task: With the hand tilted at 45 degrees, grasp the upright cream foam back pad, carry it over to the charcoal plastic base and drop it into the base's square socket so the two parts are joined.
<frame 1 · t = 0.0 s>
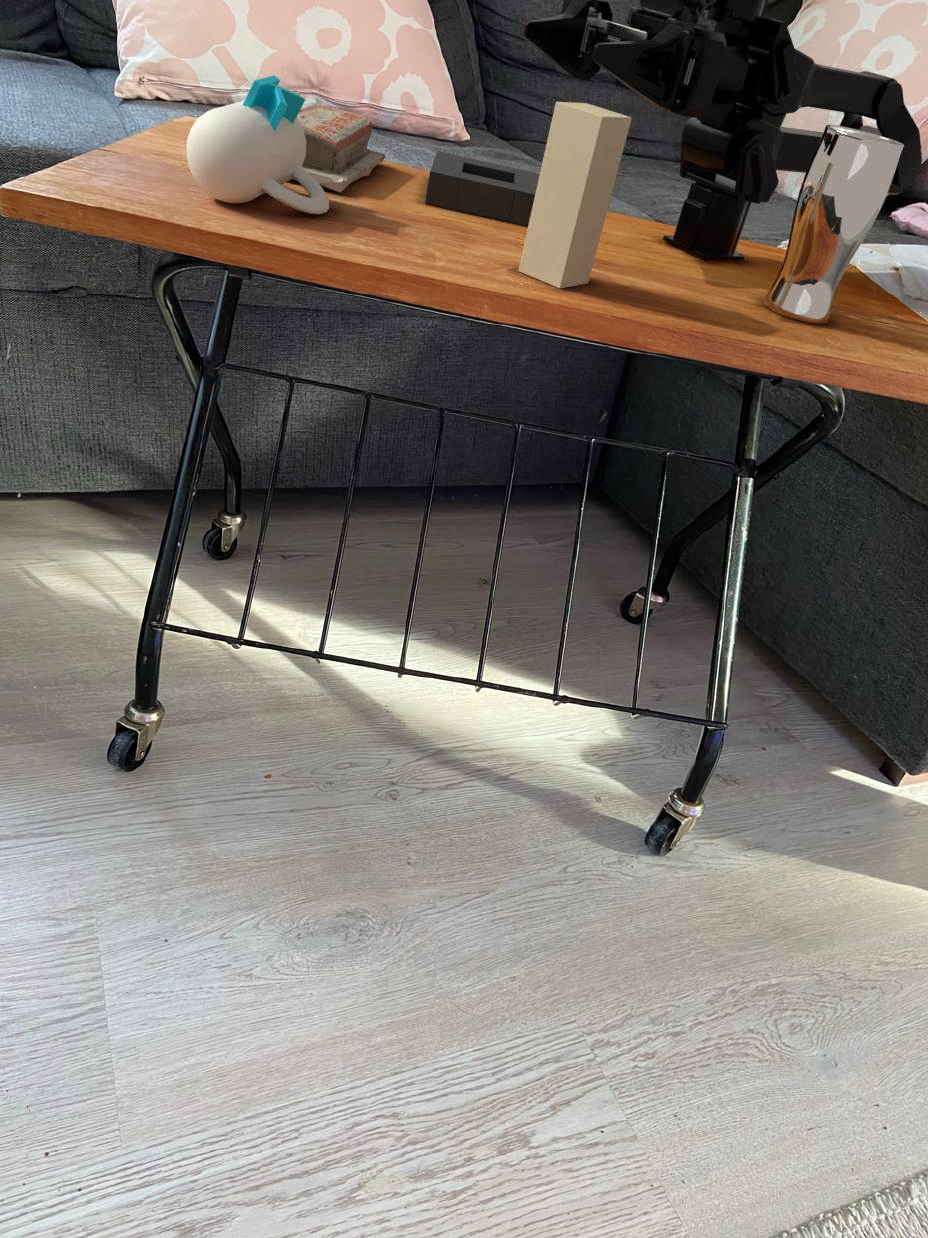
hand: (558, 39, 80), 17 cm above the table, tool horizontal, fingers open, 9 cm apart
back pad: (553, 277, 83), on the table
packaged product: (317, 169, 100), on the table
beer glass: (795, 313, 90), on the table
pad base: (482, 203, 101), on the table
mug: (262, 202, 85), on the table
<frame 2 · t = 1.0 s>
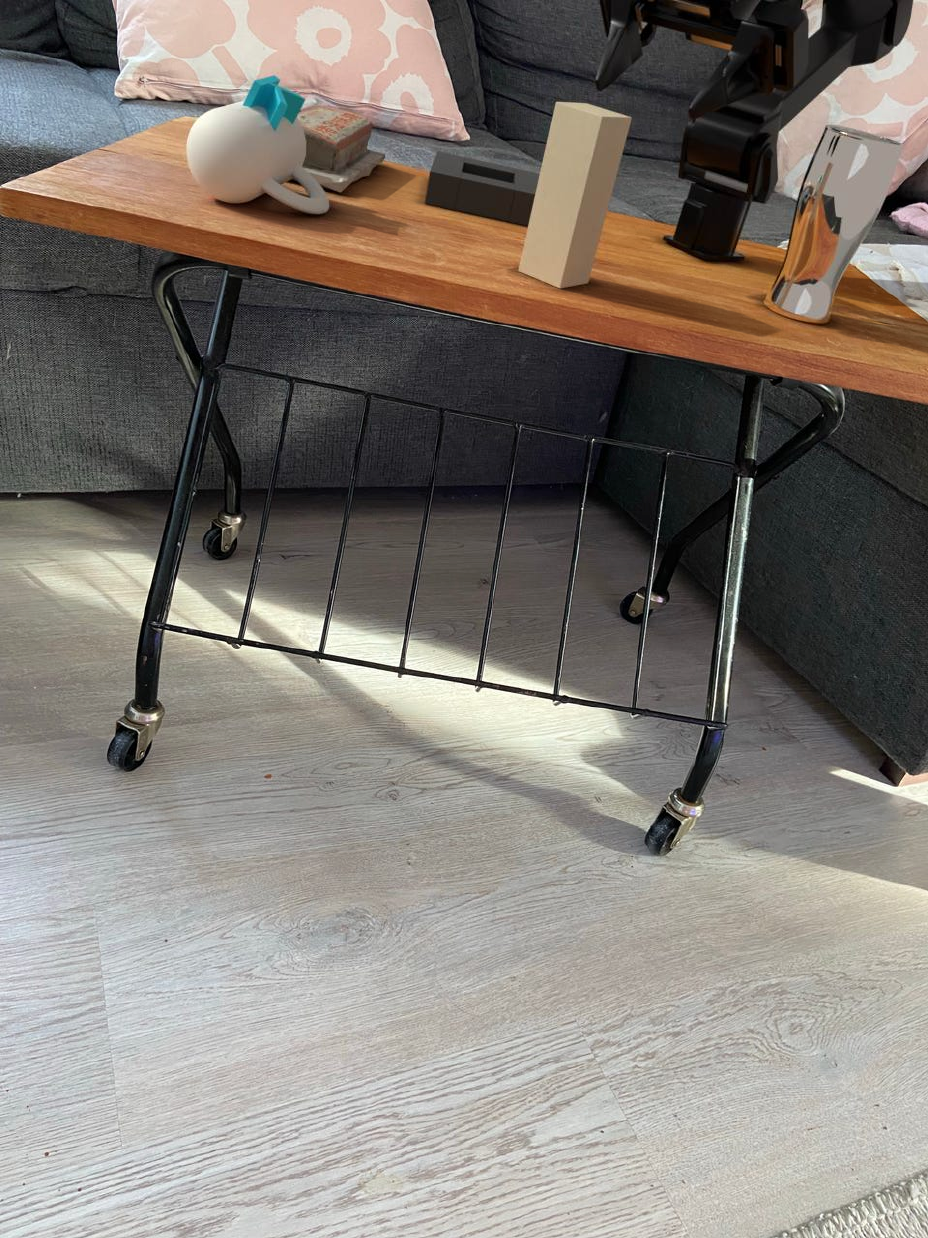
hand: (642, 100, 81), 14 cm above the table, tool tilted 45°, fingers open, 9 cm apart
nothing on the table moved.
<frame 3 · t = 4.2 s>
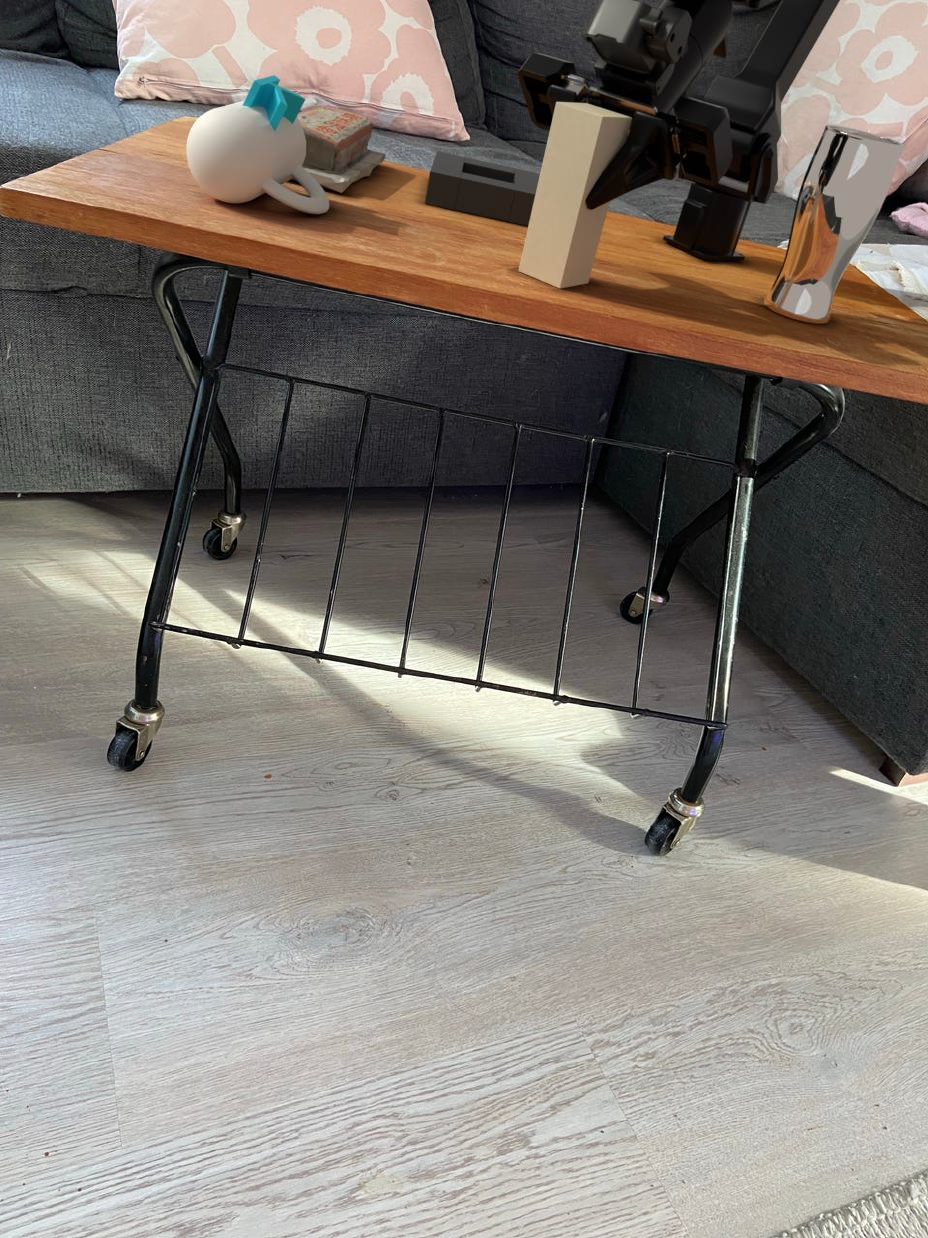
hand: (563, 196, 79), 7 cm above the table, tool tilted 45°, fingers closed on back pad, 4 cm apart
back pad: (553, 277, 83), on the table, touching gripper
everything else where it was.
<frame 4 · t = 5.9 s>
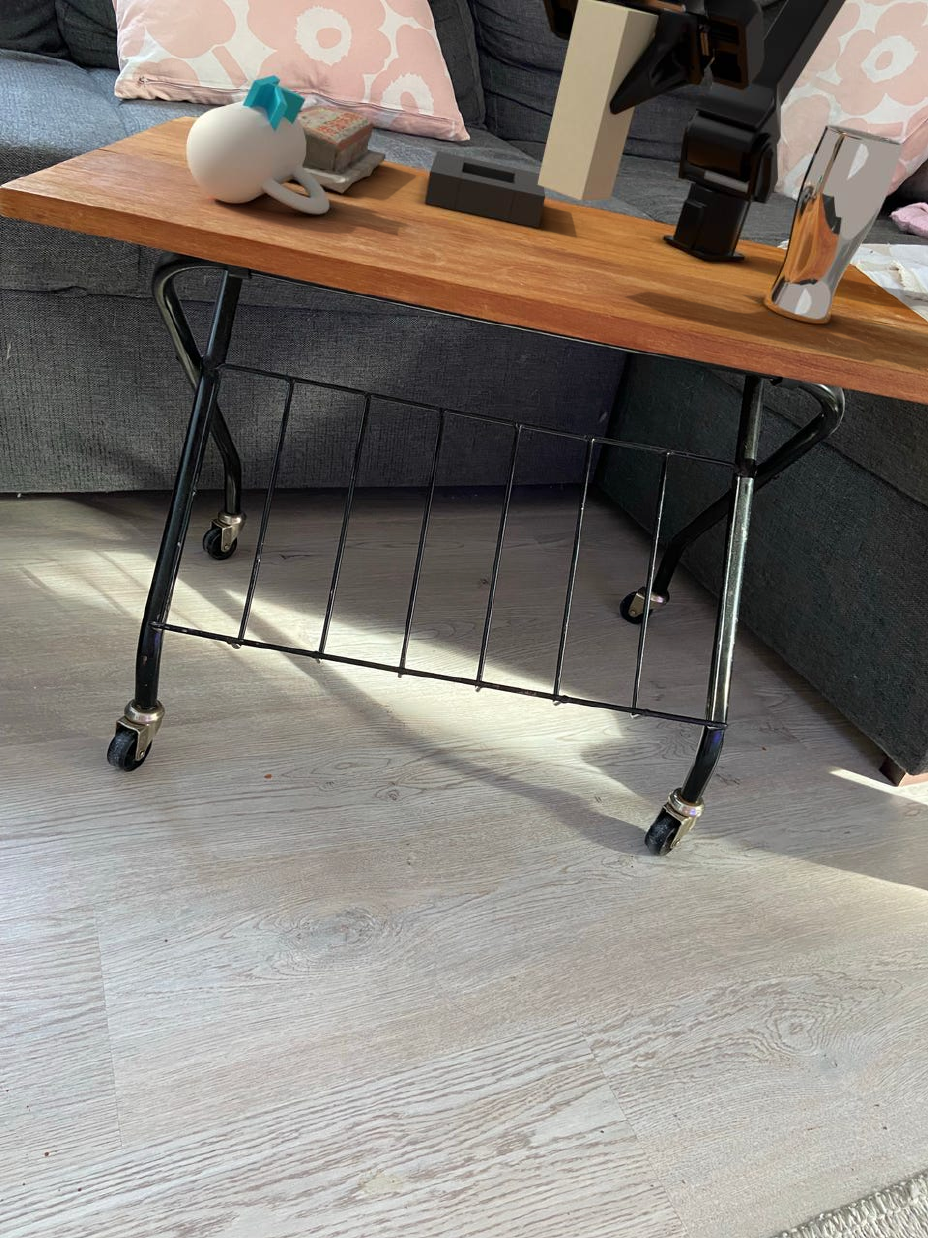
hand: (586, 101, 75), 14 cm above the table, tool tilted 45°, fingers closed on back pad, 4 cm apart
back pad: (574, 191, 80), point 7 cm above the table, touching gripper
everything else where it was.
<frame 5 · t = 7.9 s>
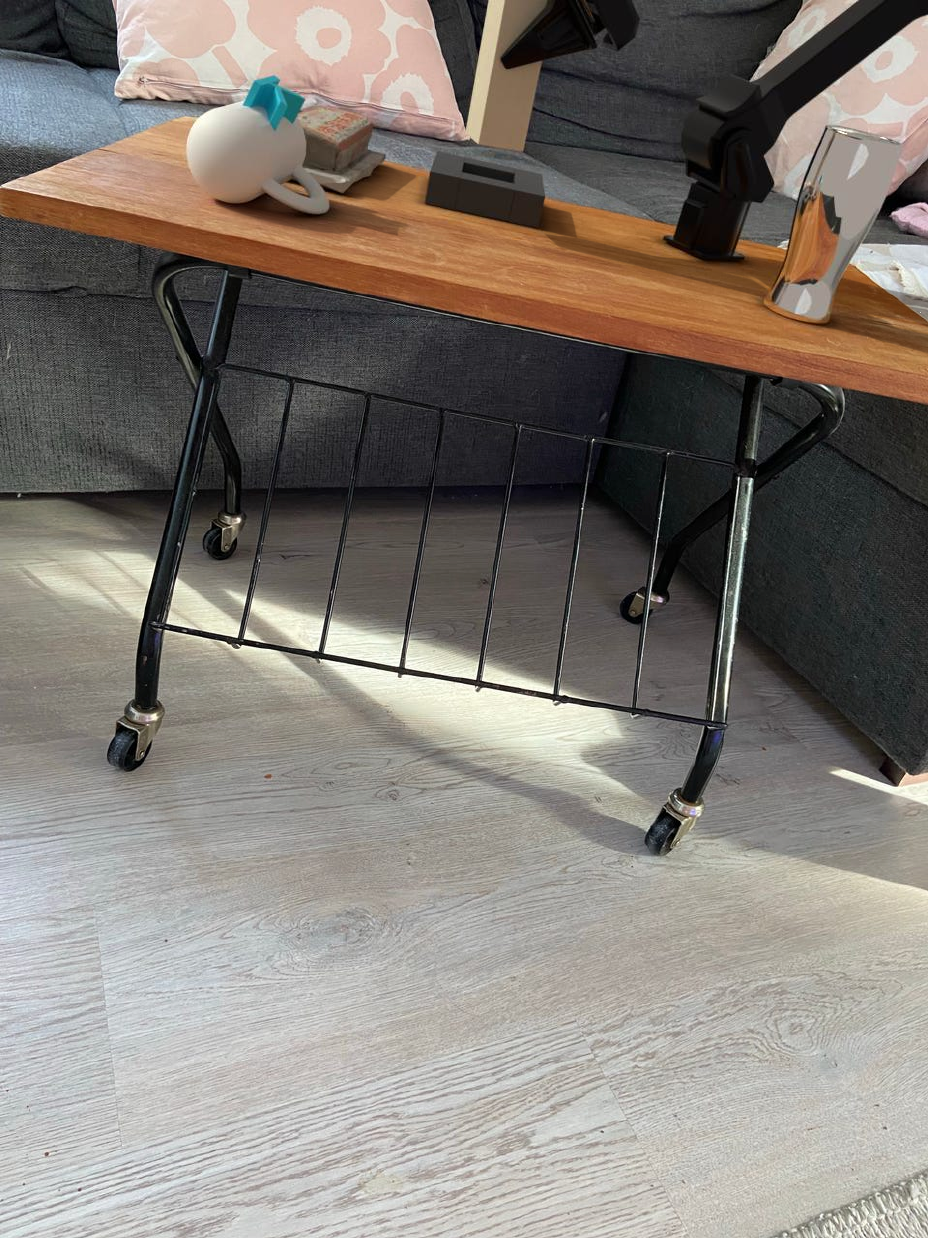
hand: (494, 59, 87), 14 cm above the table, tool tilted 45°, fingers closed on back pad, 4 cm apart
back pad: (493, 142, 91), point 7 cm above the table, touching gripper
everything else where it was.
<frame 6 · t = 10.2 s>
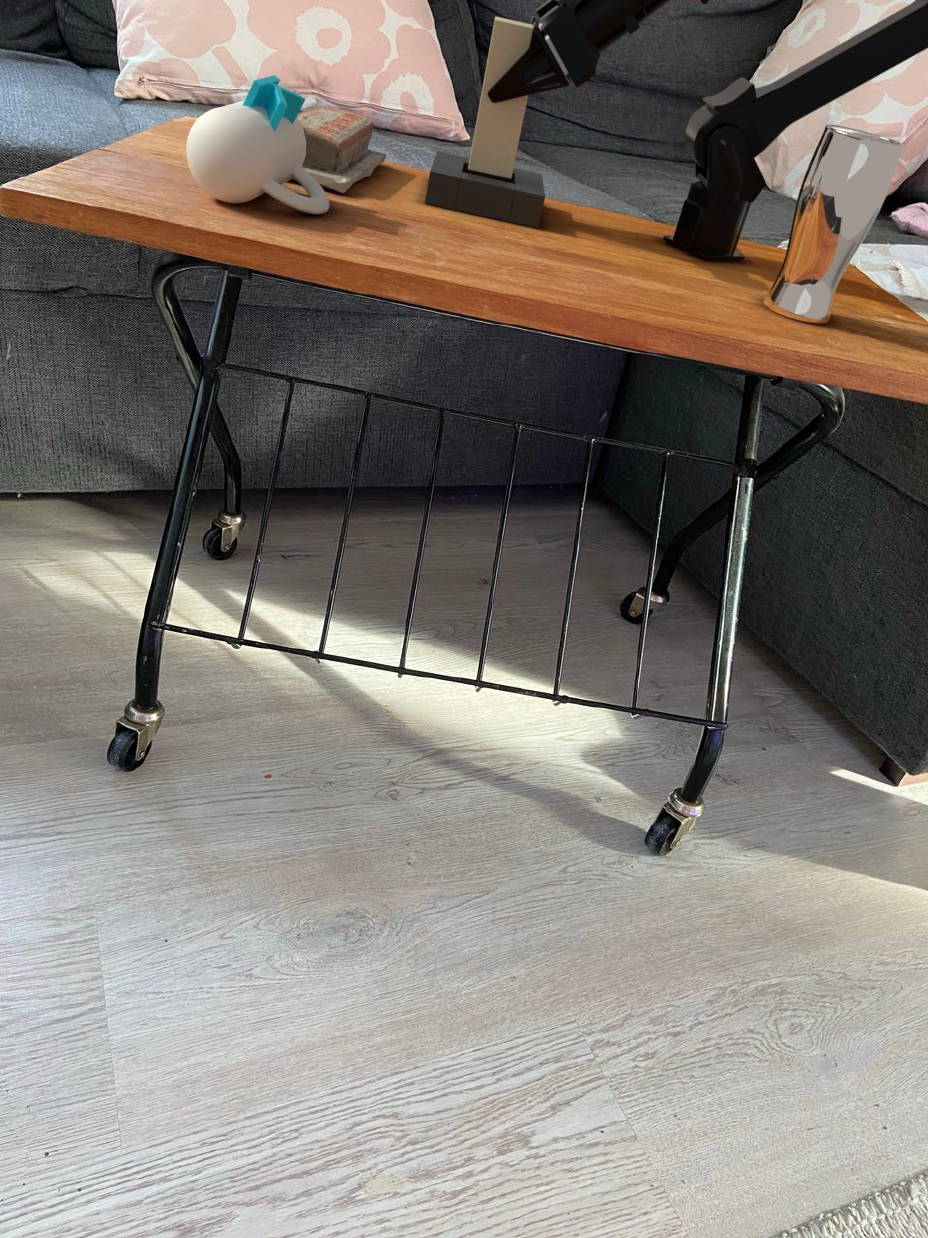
hand: (490, 94, 96), 10 cm above the table, tool tilted 45°, fingers closed on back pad, 4 cm apart
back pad: (489, 169, 100), point 3 cm above the table, touching gripper
everything else where it was.
when the fingers open (7 cm above the table, at t = 11.7 s): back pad stays where it is, resting in pad base.
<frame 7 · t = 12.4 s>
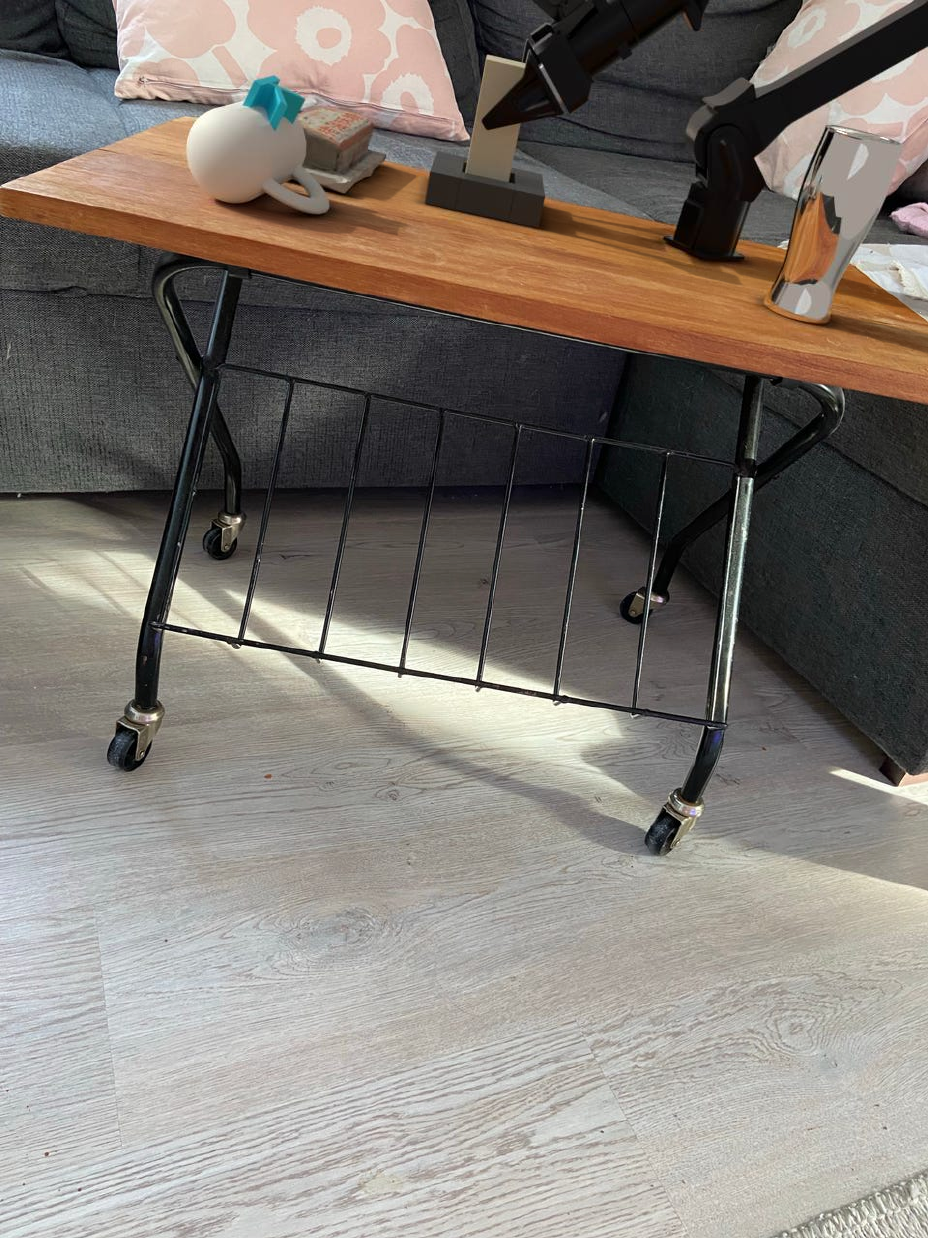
hand: (484, 118, 97), 8 cm above the table, tool tilted 45°, fingers open, 9 cm apart
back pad: (481, 203, 101), resting in pad base
everything else where it was.
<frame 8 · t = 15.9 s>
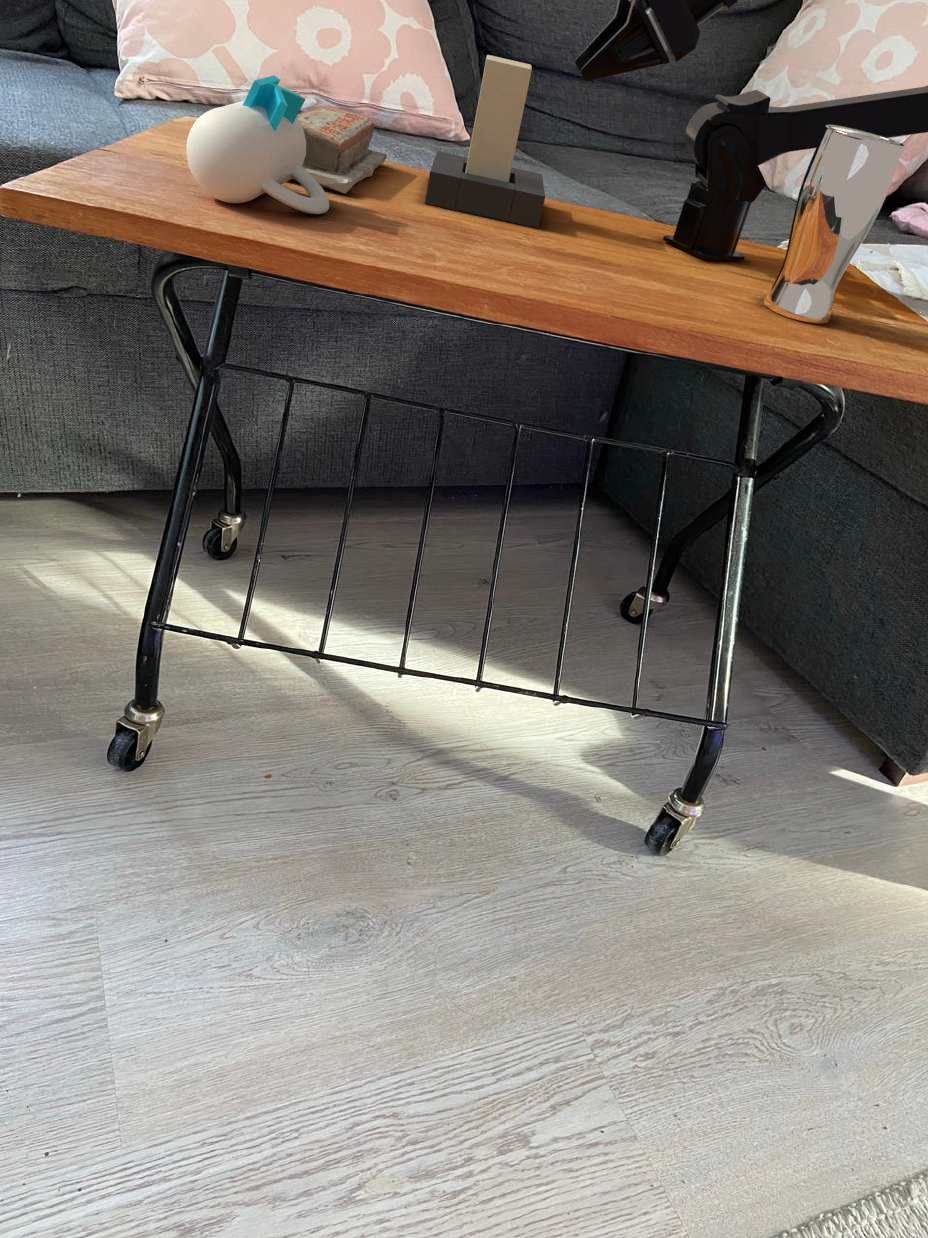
hand: (579, 70, 94), 14 cm above the table, tool tilted 45°, fingers open, 9 cm apart
nothing on the table moved.
at the end: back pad 0.1 cm off-centre in the pad base, point 0.0 cm above the pad base's base; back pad tilted 0°; the gripper is holding nothing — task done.
